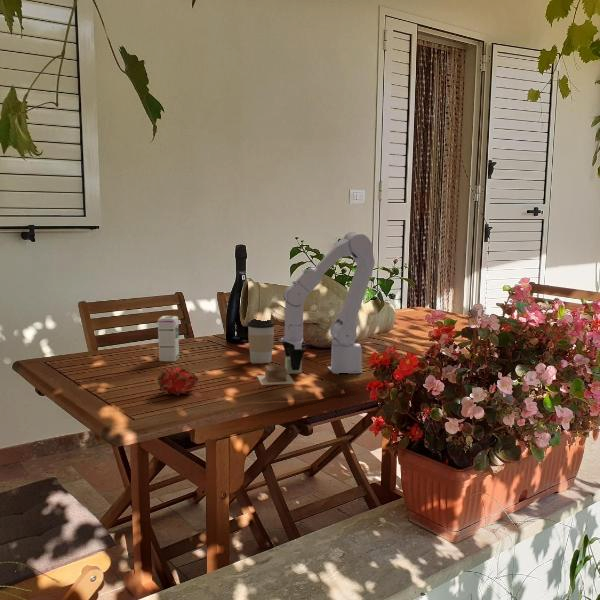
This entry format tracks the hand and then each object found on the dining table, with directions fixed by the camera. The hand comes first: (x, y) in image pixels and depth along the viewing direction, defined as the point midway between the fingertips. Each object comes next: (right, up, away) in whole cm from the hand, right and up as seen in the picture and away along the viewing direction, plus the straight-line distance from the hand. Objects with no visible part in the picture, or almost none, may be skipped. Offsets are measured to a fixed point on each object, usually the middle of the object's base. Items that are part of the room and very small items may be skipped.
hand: (293, 366), depth 205 cm
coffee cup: (-11, 0, +13) cm, 17 cm away
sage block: (0, -2, 0) cm, 2 cm away
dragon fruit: (-32, -5, -23) cm, 39 cm away
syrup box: (-42, +1, +15) cm, 44 cm away
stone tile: (-5, -3, -9) cm, 11 cm away
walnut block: (-5, -3, -9) cm, 11 cm away
